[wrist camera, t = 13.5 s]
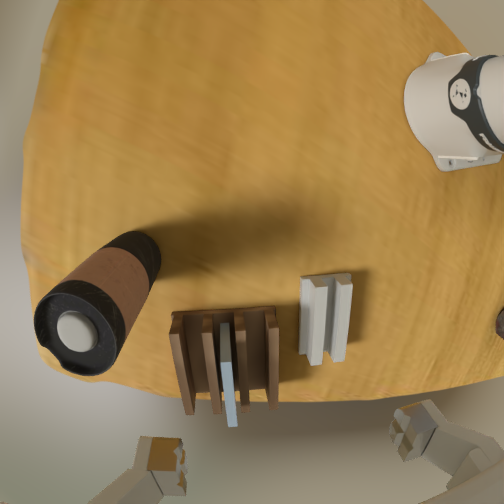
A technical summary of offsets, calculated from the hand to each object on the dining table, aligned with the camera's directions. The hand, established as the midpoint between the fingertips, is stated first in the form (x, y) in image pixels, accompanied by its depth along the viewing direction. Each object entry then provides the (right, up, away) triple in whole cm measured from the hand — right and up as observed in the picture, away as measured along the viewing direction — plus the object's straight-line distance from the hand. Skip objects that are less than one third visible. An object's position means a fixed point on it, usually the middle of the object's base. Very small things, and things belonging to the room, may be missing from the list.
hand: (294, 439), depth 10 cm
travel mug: (-17, +6, +29) cm, 34 cm away
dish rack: (-5, -8, +34) cm, 36 cm away
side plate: (-5, -8, +33) cm, 35 cm away
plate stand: (+9, -2, +34) cm, 35 cm away
